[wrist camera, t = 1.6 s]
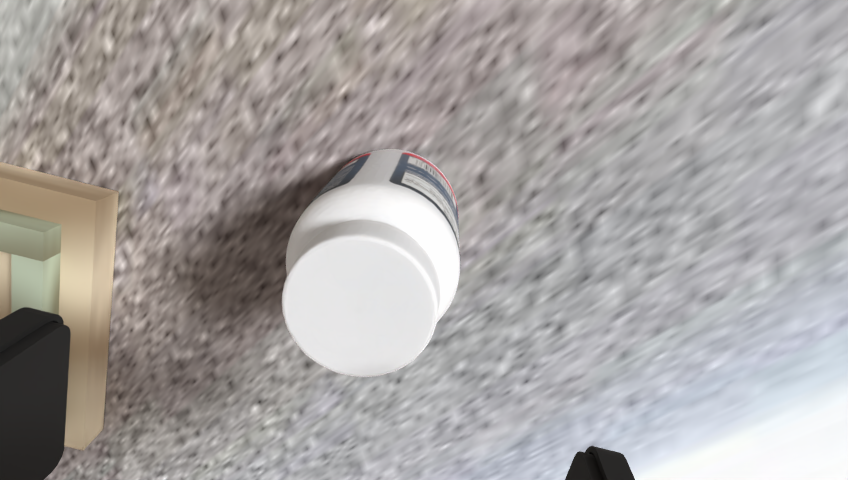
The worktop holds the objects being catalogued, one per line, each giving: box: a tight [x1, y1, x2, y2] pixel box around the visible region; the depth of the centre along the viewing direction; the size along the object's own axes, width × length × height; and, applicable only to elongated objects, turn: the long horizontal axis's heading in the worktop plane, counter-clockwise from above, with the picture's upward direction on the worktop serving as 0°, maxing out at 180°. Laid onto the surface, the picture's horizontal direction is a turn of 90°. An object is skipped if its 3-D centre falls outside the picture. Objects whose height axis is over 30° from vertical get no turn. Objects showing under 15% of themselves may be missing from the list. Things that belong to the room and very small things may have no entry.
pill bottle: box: [282, 149, 460, 377], centre depth 18 cm, size 5×5×9 cm
